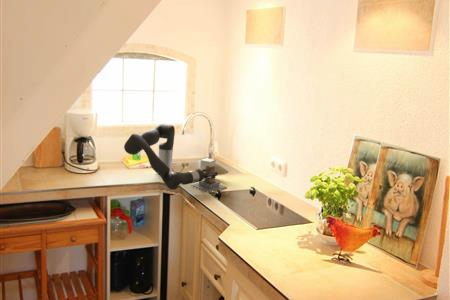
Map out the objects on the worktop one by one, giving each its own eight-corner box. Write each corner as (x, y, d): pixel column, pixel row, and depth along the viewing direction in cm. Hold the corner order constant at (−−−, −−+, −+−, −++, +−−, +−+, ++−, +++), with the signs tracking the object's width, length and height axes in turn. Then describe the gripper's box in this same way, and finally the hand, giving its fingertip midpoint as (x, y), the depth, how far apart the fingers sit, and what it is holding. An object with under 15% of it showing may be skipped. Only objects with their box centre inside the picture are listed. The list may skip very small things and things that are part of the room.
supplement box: (214, 178, 314) (216, 159, 311) (208, 180, 308) (210, 161, 305) (205, 175, 318) (206, 157, 315) (199, 178, 311) (200, 159, 309)
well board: (190, 186, 292) (191, 181, 292) (207, 181, 305) (208, 176, 304) (210, 192, 283) (210, 187, 282) (226, 188, 295) (227, 182, 294)
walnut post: (204, 185, 293) (205, 165, 290) (208, 184, 296) (210, 164, 293) (209, 187, 291) (210, 167, 288) (213, 186, 294) (215, 166, 291)
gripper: (185, 179, 286) (203, 175, 298) (202, 185, 277) (220, 180, 290) (186, 167, 284) (203, 163, 296) (203, 173, 275) (221, 168, 288)
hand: (212, 172), depth 293 cm, fingers open, 8 cm apart
